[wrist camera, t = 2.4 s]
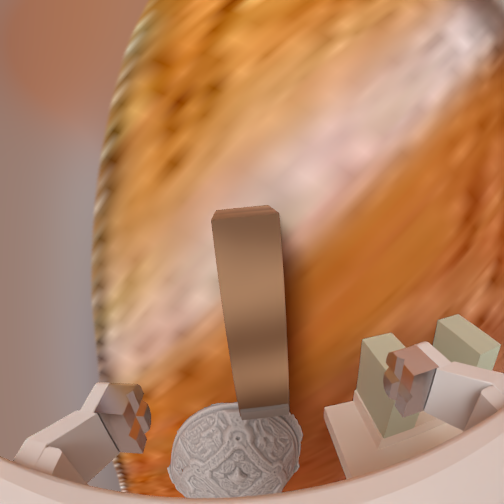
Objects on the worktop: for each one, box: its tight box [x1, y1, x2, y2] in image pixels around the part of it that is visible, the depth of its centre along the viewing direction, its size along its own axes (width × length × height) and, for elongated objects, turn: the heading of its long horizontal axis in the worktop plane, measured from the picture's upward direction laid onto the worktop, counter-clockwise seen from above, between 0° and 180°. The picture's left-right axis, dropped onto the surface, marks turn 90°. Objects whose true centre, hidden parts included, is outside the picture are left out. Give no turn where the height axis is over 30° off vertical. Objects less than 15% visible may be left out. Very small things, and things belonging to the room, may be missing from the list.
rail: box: [211, 205, 290, 420], centre depth 19 cm, size 14×4×5 cm, turn 5°
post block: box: [324, 314, 501, 479], centre depth 19 cm, size 9×18×12 cm, turn 95°
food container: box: [167, 402, 303, 498], centre depth 25 cm, size 16×25×7 cm, turn 172°
